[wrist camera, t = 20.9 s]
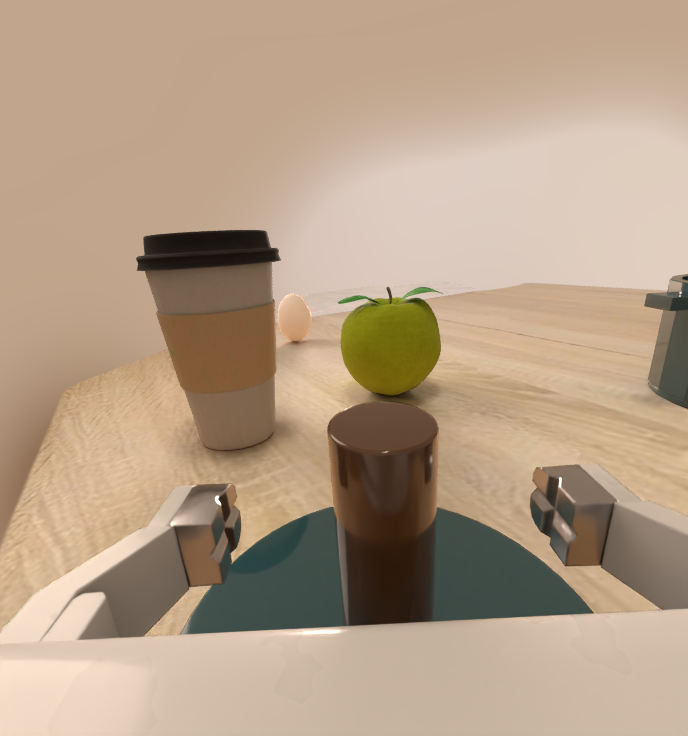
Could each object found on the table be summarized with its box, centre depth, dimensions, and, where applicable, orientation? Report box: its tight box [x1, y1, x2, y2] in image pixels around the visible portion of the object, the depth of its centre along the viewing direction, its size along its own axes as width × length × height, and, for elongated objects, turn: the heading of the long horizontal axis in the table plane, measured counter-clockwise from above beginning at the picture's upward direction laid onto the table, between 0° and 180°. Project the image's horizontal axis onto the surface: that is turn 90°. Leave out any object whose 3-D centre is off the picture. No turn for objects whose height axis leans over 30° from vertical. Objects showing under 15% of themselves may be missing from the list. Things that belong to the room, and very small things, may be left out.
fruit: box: [338, 287, 443, 396], centre depth 34 cm, size 9×9×10 cm
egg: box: [277, 294, 312, 341], centre depth 56 cm, size 5×5×7 cm
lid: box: [180, 402, 594, 635], centre depth 10 cm, size 13×13×9 cm
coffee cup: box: [136, 230, 281, 450], centre depth 27 cm, size 9×9×15 cm
